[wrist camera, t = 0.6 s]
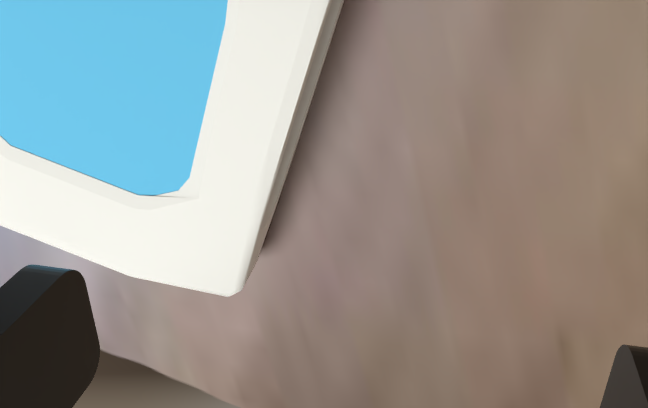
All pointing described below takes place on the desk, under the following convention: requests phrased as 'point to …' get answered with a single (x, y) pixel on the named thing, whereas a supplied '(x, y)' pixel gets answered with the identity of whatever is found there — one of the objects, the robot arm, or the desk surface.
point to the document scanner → (155, 128)
